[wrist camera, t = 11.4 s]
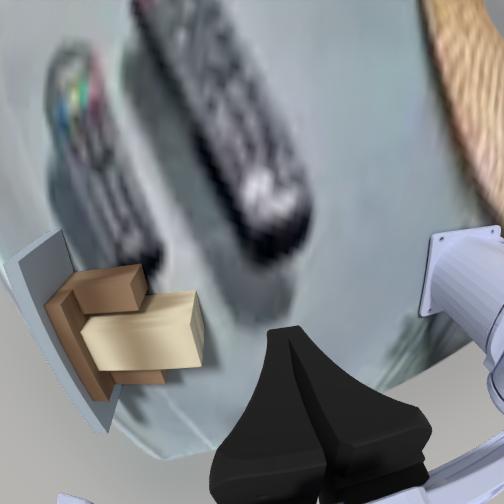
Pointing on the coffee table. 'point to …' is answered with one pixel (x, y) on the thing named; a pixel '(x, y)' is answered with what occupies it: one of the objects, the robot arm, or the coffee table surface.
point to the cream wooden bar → (148, 334)
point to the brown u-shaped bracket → (98, 301)
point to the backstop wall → (32, 306)
